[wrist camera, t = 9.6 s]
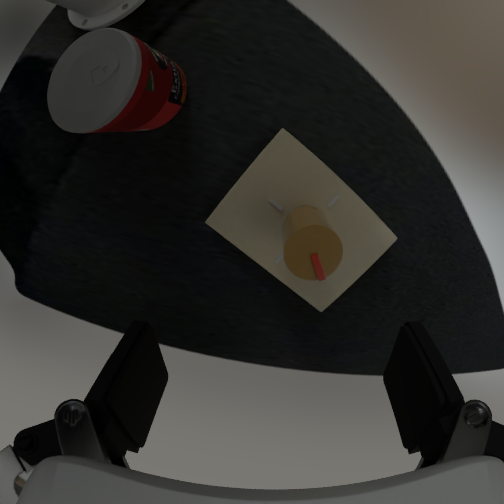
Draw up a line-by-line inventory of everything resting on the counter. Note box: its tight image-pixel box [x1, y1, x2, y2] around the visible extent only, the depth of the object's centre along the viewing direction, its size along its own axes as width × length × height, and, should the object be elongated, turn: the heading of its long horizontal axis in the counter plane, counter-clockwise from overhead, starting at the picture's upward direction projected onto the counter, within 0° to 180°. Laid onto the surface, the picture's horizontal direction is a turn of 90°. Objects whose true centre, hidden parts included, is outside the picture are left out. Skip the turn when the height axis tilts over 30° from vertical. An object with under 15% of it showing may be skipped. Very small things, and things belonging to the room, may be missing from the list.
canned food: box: [47, 28, 187, 133], centre depth 18 cm, size 8×8×11 cm
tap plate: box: [205, 128, 398, 312], centre depth 26 cm, size 15×11×2 cm
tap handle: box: [282, 206, 343, 281], centre depth 22 cm, size 4×4×6 cm
